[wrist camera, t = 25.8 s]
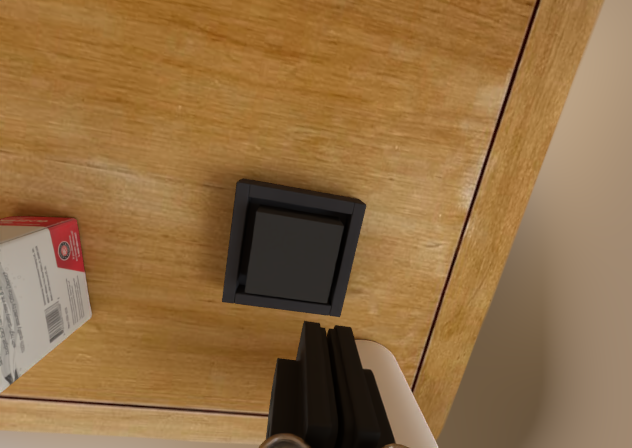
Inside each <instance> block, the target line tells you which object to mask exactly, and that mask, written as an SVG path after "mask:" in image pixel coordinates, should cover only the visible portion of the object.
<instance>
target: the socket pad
mask: <svg viewBox="0 0 632 448" xmlns="http://www.w3.org/2000/svg"><path fill="white" fill-rule="evenodd" d="M260 204H263V205H269V206H275V207H281V208H287V209H292V210H298V211H304V212H310V213H316V214H322V215H328V216H334V217H338V218H339V219H340V221H341V222H342V224H343V226H344V228H343V232H342V237H341V242H340V246H339V251H338V255H337V260H336V264H335V269H334V273H333V278H332V283H331V287H330V292H329V296H328V301H327V303H320V302H312V301H305V300H297V299H290V298H282V297H275V296H267V295H260V294H252V293H245V287H246V280H247V273H248V266H249V259H250V252H251V245H252V238H253V231H254V224H255V217H256V212H257V210H258V208H259V206H260ZM365 209H366V204H365V203H363V202H362V201H361V200H359V199H356V198H350V197H344V196H339V195H333V194H328V193H322V192H316V191H311V190H305V189H300V188H294V187H288V186H283V185H277V184H272V183H266V182H261V181H255V180H249V179H244V178H243V179H241V180H239V181H238V182H237V185H236V193H235V201H234V209H233V217H232V225H231V233H230V241H229V249H228V257H227V265H226V273H225V281H224V290H223V298H222V302H226V303H235V304H243V305H250V306H258V307H266V308H274V309H282V310H289V311H297V312H305V313H313V314H321V315H330V316H336V317H340V315H341V311H342V307H343V302H344V298H345V294H346V290H347V285H348V281H349V277H350V273H351V268H352V264H353V260H354V256H355V251H356V247H357V243H358V238H359V234H360V230H361V226H362V221H363V217H364V213H365Z"/></svg>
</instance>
